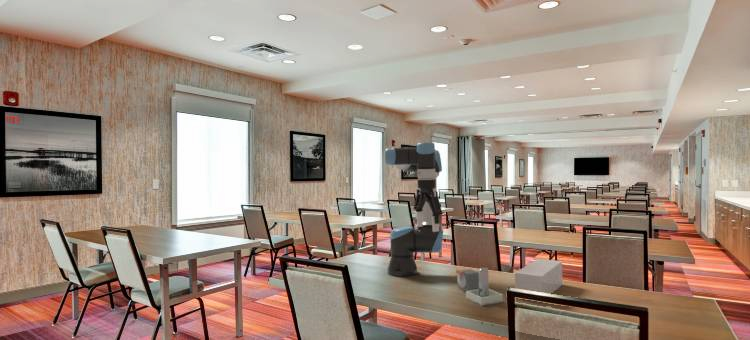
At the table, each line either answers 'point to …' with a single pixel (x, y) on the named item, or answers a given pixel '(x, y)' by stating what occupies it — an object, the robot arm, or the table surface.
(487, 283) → the stop pin
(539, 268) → the light grey block
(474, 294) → the parts tray
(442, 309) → the table surface
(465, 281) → the crank housing
